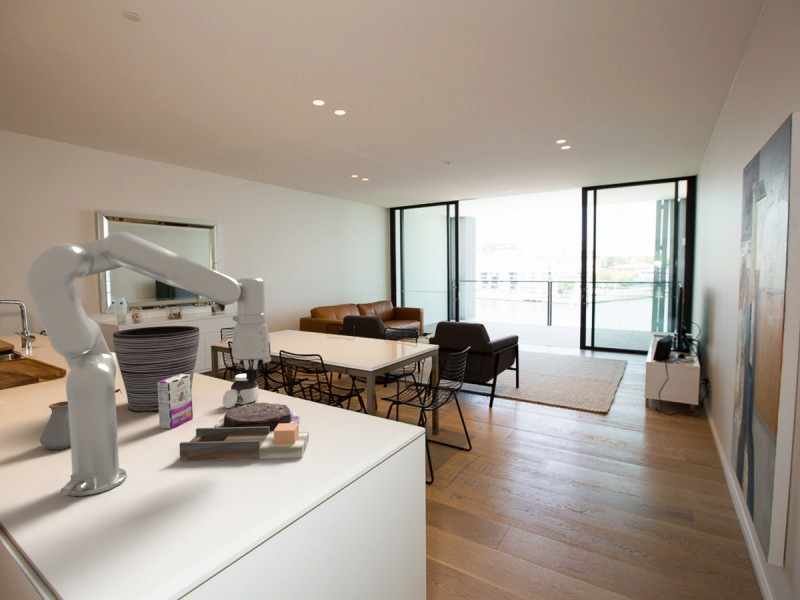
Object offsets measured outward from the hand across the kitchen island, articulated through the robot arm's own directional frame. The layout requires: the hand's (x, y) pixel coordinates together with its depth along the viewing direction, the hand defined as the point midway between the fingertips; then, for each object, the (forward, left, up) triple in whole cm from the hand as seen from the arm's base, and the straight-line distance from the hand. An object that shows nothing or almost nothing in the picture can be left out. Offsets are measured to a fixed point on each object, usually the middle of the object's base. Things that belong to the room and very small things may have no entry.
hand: (252, 381), depth 125 cm
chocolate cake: (+23, +5, -21) cm, 32 cm away
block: (0, -10, -18) cm, 20 cm away
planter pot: (+49, +51, -21) cm, 74 cm away
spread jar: (+45, +18, -21) cm, 53 cm away
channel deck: (0, +2, -21) cm, 21 cm away
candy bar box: (+25, +34, -21) cm, 47 cm away
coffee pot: (+11, +56, -21) cm, 61 cm away
